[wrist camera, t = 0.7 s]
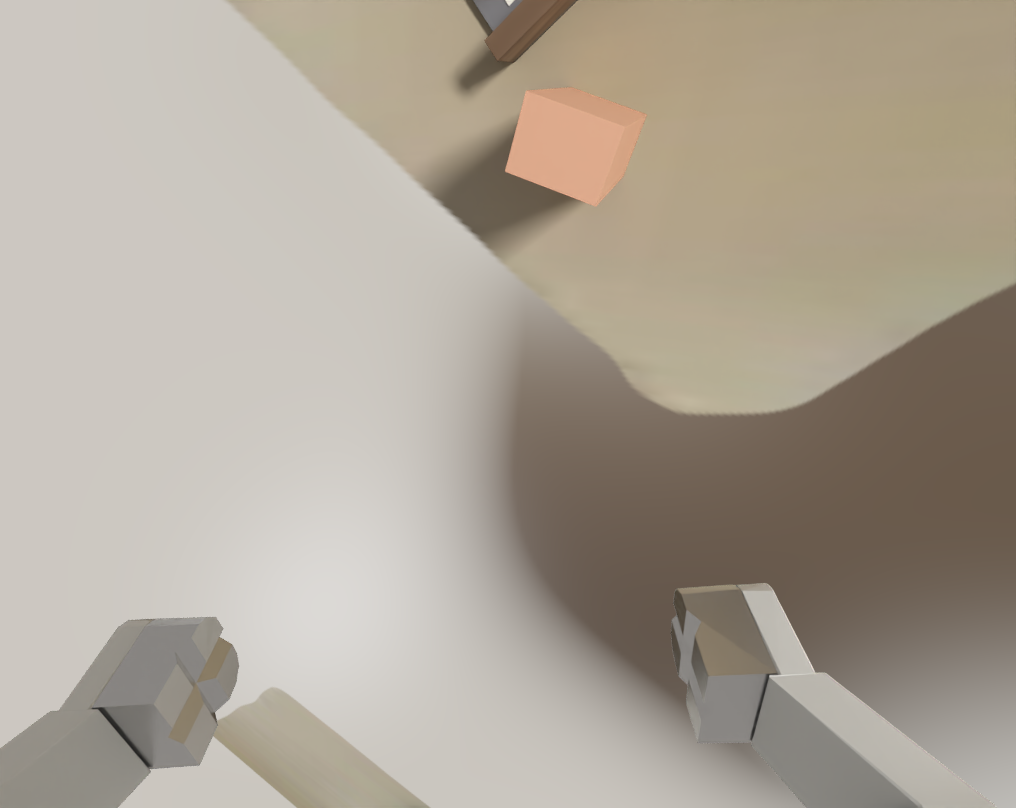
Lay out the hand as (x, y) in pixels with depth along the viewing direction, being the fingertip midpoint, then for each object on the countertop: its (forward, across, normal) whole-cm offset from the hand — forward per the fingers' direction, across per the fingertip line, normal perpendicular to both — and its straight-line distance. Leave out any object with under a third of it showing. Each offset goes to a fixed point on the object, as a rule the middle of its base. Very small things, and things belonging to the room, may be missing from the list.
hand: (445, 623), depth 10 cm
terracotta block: (+40, -8, -4) cm, 41 cm away
